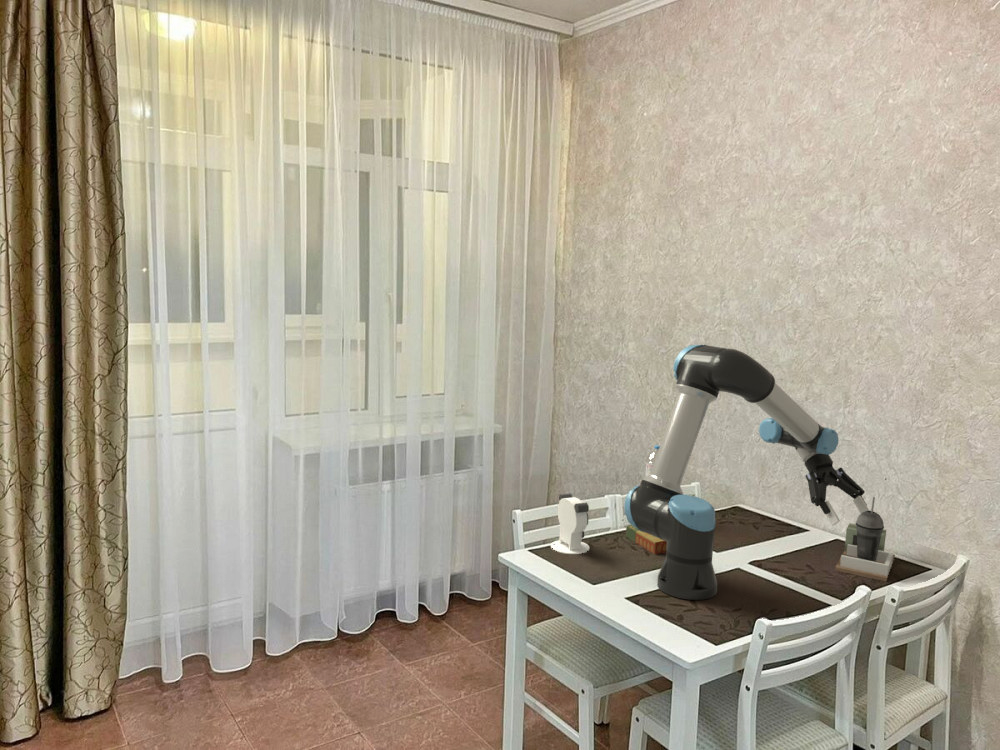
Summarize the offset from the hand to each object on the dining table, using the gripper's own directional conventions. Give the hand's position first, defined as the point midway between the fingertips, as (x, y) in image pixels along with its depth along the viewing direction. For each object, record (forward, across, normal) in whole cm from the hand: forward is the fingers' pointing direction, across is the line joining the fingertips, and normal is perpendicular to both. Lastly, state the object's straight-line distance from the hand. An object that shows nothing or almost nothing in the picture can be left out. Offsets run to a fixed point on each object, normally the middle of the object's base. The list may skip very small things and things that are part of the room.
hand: (852, 520), depth 225 cm
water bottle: (-27, +31, -45) cm, 61 cm away
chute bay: (+13, 0, -4) cm, 14 cm away
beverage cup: (+12, 0, -4) cm, 13 cm away
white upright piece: (-19, +70, -37) cm, 82 cm away
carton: (-14, +46, -33) cm, 58 cm away
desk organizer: (+11, -2, -6) cm, 13 cm away
